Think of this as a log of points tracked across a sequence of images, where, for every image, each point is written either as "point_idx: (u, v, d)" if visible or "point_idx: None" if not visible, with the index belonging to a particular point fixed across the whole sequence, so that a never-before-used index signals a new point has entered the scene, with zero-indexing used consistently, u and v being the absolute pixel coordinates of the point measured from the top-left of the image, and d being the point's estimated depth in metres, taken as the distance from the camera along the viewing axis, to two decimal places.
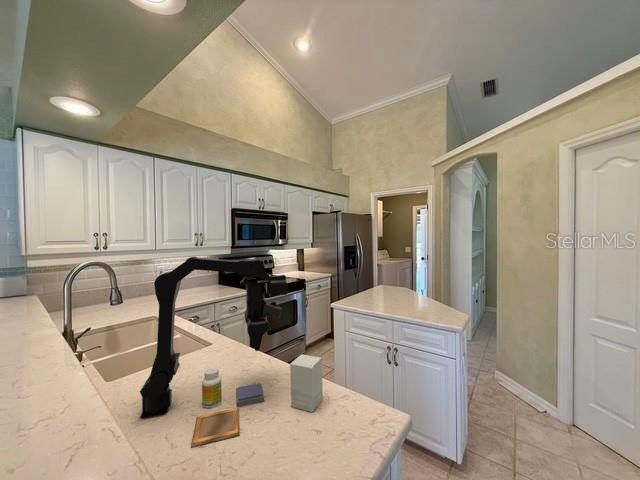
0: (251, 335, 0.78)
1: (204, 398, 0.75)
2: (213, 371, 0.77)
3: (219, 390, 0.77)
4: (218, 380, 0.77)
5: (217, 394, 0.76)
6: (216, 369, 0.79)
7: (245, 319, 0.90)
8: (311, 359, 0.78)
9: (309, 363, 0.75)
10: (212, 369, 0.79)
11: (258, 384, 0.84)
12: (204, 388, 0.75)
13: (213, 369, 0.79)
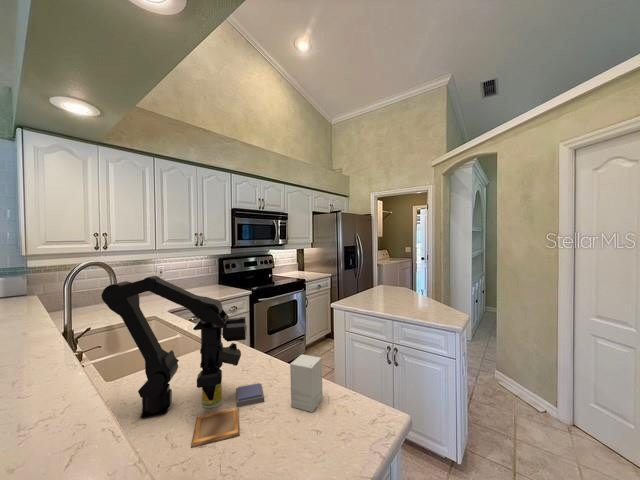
0: None
1: (204, 398, 0.75)
2: None
3: (219, 390, 0.77)
4: None
5: (217, 394, 0.76)
6: None
7: None
8: (311, 359, 0.78)
9: (309, 363, 0.75)
10: None
11: (258, 384, 0.84)
12: None
13: None
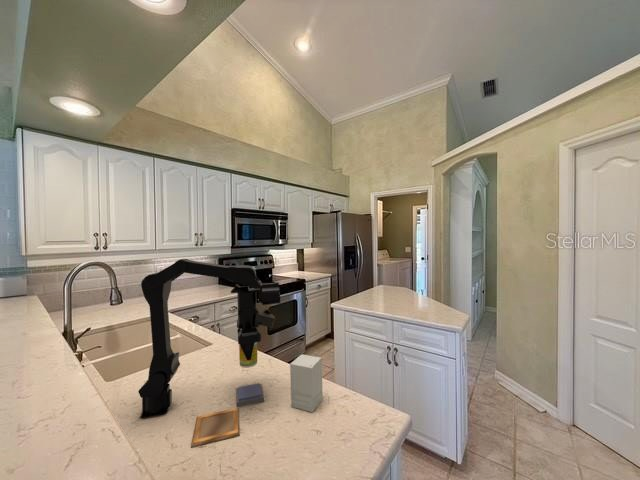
0: (242, 344, 0.75)
1: (242, 358, 0.78)
2: None
3: (256, 351, 0.80)
4: None
5: (254, 355, 0.79)
6: None
7: (237, 330, 0.84)
8: (311, 359, 0.78)
9: (309, 363, 0.75)
10: None
11: (258, 384, 0.84)
12: None
13: None
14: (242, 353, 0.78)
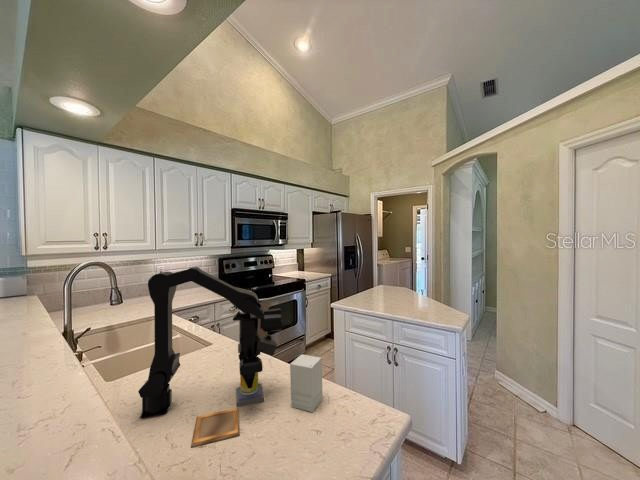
0: None
1: (243, 385, 0.78)
2: None
3: (257, 378, 0.80)
4: None
5: (255, 382, 0.79)
6: None
7: (239, 355, 0.84)
8: (311, 359, 0.78)
9: (309, 363, 0.75)
10: None
11: (258, 384, 0.84)
12: None
13: None
14: (243, 380, 0.78)
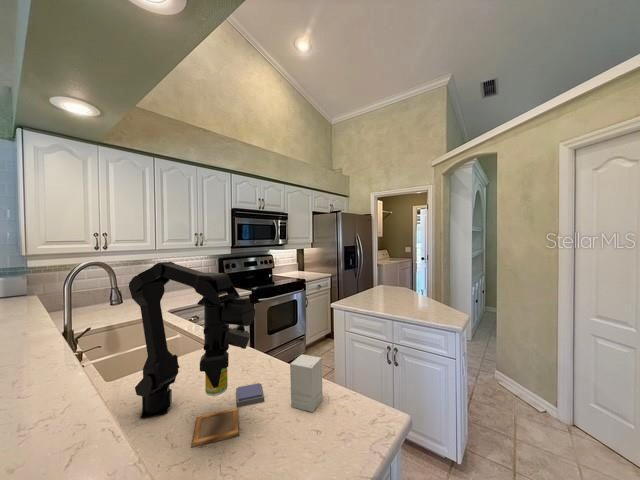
0: None
1: (208, 384, 0.65)
2: None
3: (225, 376, 0.67)
4: None
5: (223, 381, 0.66)
6: None
7: (206, 349, 0.71)
8: (311, 359, 0.78)
9: (309, 363, 0.75)
10: None
11: (258, 384, 0.84)
12: None
13: None
14: (208, 378, 0.65)
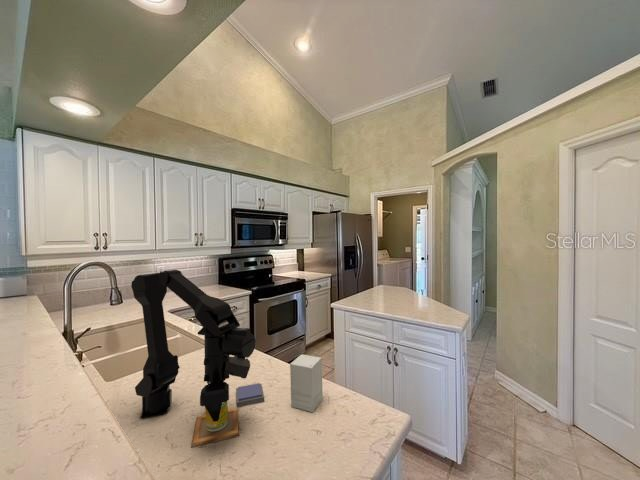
0: None
1: (208, 420, 0.65)
2: None
3: (225, 410, 0.67)
4: None
5: (223, 415, 0.66)
6: None
7: None
8: (311, 359, 0.78)
9: (309, 363, 0.75)
10: None
11: (258, 384, 0.84)
12: None
13: None
14: (208, 414, 0.65)
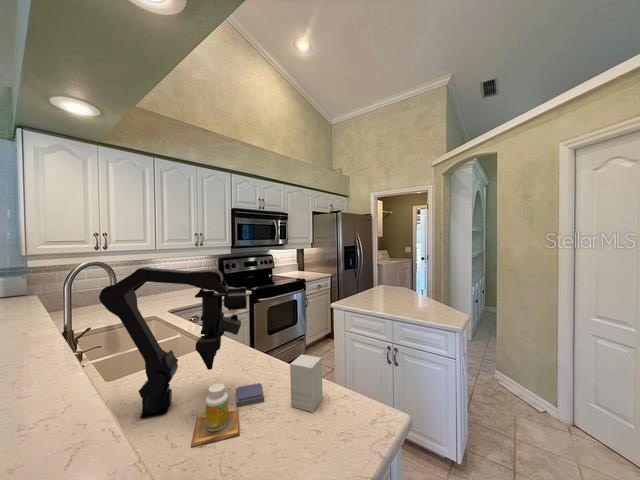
0: (202, 353, 0.72)
1: (208, 420, 0.65)
2: (219, 388, 0.67)
3: (225, 410, 0.67)
4: (224, 399, 0.67)
5: (223, 415, 0.66)
6: (222, 386, 0.68)
7: None
8: (311, 359, 0.78)
9: (309, 363, 0.75)
10: (217, 386, 0.68)
11: (258, 384, 0.84)
12: (208, 408, 0.65)
13: (218, 386, 0.68)
14: (208, 414, 0.65)
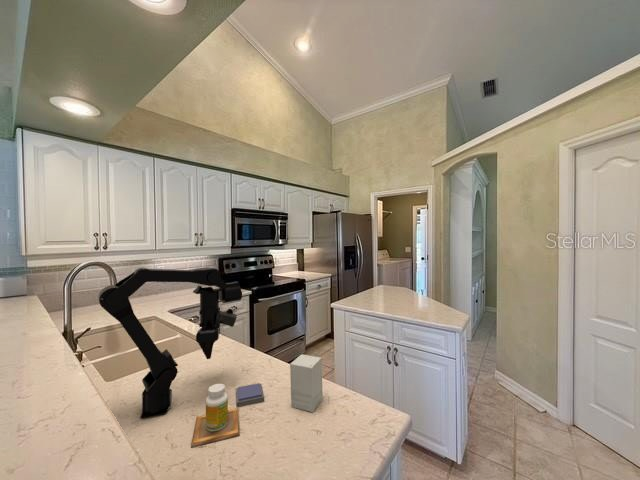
0: (201, 343, 0.78)
1: (208, 420, 0.65)
2: (219, 388, 0.67)
3: (225, 410, 0.67)
4: (224, 399, 0.67)
5: (223, 416, 0.66)
6: (222, 386, 0.68)
7: (202, 327, 0.90)
8: (311, 359, 0.78)
9: (309, 363, 0.75)
10: (217, 386, 0.68)
11: (258, 384, 0.84)
12: (208, 409, 0.65)
13: (218, 386, 0.68)
14: (208, 414, 0.65)
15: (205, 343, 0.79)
